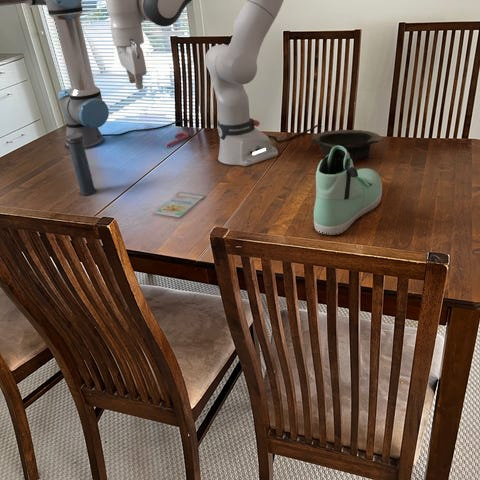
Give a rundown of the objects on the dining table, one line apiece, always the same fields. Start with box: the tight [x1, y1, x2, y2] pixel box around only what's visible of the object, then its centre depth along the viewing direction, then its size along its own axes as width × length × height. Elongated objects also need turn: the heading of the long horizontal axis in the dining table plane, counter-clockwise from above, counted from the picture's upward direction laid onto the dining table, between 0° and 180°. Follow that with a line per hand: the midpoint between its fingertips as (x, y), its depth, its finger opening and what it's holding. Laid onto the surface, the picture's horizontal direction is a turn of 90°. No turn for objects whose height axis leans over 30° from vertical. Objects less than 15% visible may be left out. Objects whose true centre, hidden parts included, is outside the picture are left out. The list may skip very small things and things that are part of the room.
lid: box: [65, 133, 83, 144], centre depth 152 cm, size 5×5×2 cm
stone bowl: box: [310, 129, 384, 164], centre depth 171 cm, size 25×25×9 cm
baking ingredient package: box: [153, 192, 205, 218], centre depth 148 cm, size 9×1×15 cm
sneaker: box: [313, 146, 383, 236], centre depth 133 cm, size 14×35×20 cm, turn 152°
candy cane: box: [165, 132, 190, 148], centre depth 199 cm, size 6×15×2 cm, turn 145°
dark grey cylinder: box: [68, 141, 96, 196], centre depth 156 cm, size 4×4×19 cm
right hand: (136, 85), depth 148 cm, fingers open, 8 cm apart
